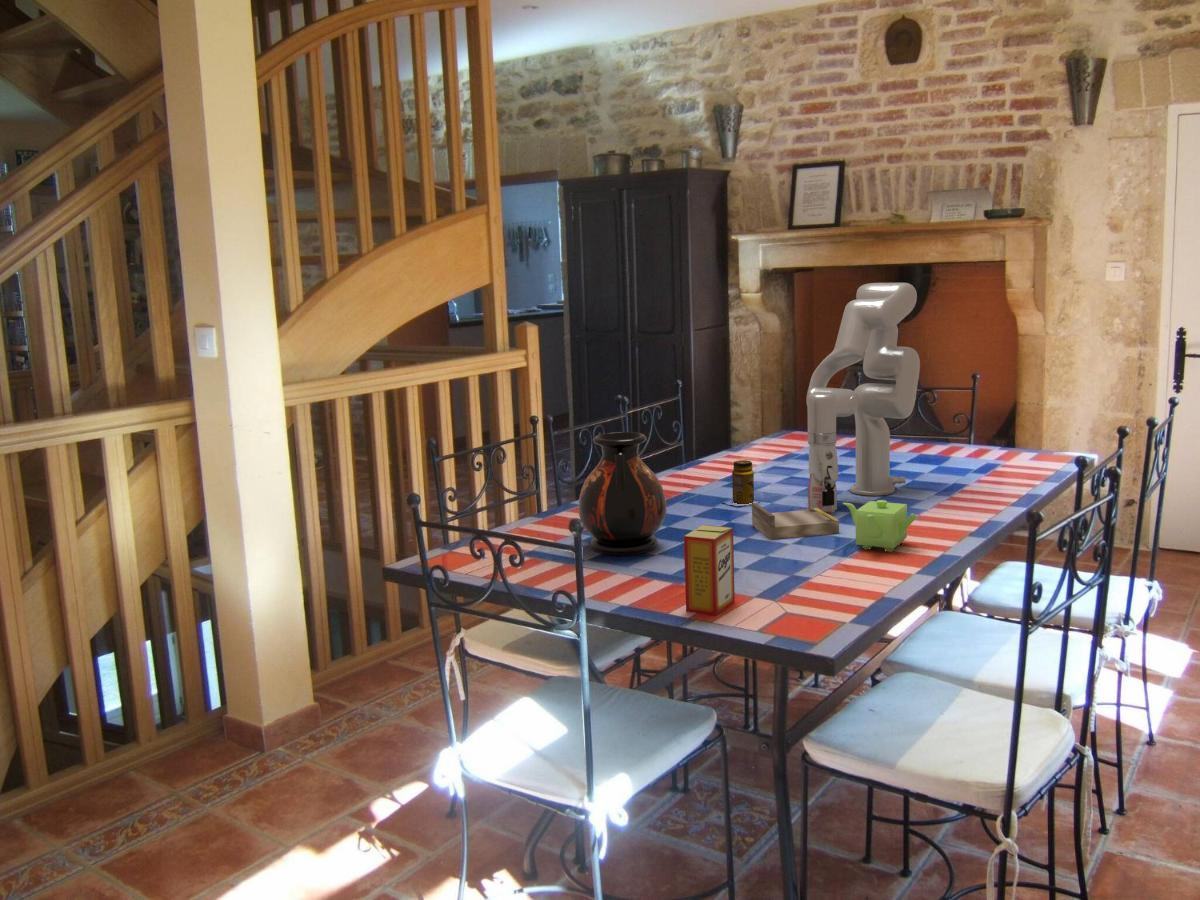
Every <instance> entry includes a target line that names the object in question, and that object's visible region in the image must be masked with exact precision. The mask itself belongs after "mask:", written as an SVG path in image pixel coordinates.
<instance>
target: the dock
mask: <svg viewBox="0 0 1200 900" xmlns="http://www.w3.org/2000/svg"><path fill="white" fill-rule="evenodd" d="M751 526H752V527H753V526H754V527H755V530H757V531H758V530H759V531H758V532H760V533H761V532H762V533H763V534H762V533H761V534H762V535H763V536H765V535H766V536H767V537H766V536H765V537H766V538H768V539H769V540H770V539H772V540H779V539H778V538H783V539H790V538H791V537H793V538H801V536H804V537H812V536H814V537H815V536H824V535H832V534H833V533H836V534H839V533H840V519H837V518H836V517H834V516H833V515H830V514H829V513H827V512H824V511H822V510H820V509H819V508H813V509H811V510H808V509H802V510H800V509H799V510H791V511H790V510H789V511H780V512H779V511H777V512H770V511H769V510H767V509H766V508H764V507H763V506H761V505H760V504H759V503H752V505H751ZM754 527H753V528H754Z"/></svg>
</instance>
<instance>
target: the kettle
mask: <svg viewBox="0 0 1200 900" xmlns="http://www.w3.org/2000/svg"><path fill="white" fill-rule="evenodd" d="M842 505H844V506H846V507H847V508H848V510H849V511H850V513H851V517H852V521H853V525H855V545H859V546H862V547H861V549H862V548H864V549H863V550H870V549H869V548H871V549H872V548H873V547H875V548H876V547H877V548H883V549H884V550H886V551H894V552H895V548H896V547H898V546H897V545H900V544H901V543H902V542H903V541H904V540H906V539H907V537H908V536H907V535H908V532H907V531H908V528H909V527H910V526H911V525H912V524H913V522H914V521H915V520H917V518H918V514H915V513H911V514H910V515H909V516H908V504H906V503H896V502H888V501H887V500H885V499H877V500H876V501H872V500H870V501H868V502H865V504H863V505H862V506H861V507H859V508H858V509H857V508H856V506H855V505H854V504H852V503H849V502H842ZM865 548H866V549H865ZM886 551H885V552H886Z"/></svg>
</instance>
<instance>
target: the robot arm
mask: <svg viewBox="0 0 1200 900" xmlns="http://www.w3.org/2000/svg"><path fill="white" fill-rule="evenodd" d="M855 297H856V299H853V300H851V301H849V302H847V304H846V305H845V308H844V311H843V314H842V317H841V318H842V319H841V322H840V325H839V329H838V334H837V338H836V341H835V345H834V348H833V350H832V352H830V353H829V354H828V355H827V356H826V357H825V358H824V359H823V360H822V361H821V362H820V363H819V365H817V367H816V368H815V370H814V371H813V373H812V375H811V377H810V381H809V386H808V388H807V393H806V398H805V399H806V407H807V444H808V445H809V448H808V451H809V452H808V474H809V475H810V474H813V477H814V478H815V479H817V480H819V481H821V482H822V485H823V490H824V491H822V505H823V506H832V505H834V491H835V483H836V484H837V481H838V480H839V466H838V465H839V463H838V452H837V446H836V445H837V418H839V417H840V418H841V417H843V418H845V417H850V416H852V415H854V421H855V484H852V485H850V487H849V488H850V489H849V490H850V492H851V493H852V494H856V495H859V496H868V497H869V496H870V497H871V496H872V497H875V496H877V497H879V496H887V495H891V494H894V493H895V492H896V487H895V485H896V484H897V485H898V484H899V485H901V484H906V477H905V476H899V477H897V476H893V475H890V467H891V465H890V464H891V463H890V462H891V461H890V460H891V459H890V458H891V456H890V452H891V450H890V447H891V439H890V438H891V433H890V428H889V426H888V423H887V421H886V420H885V418H887V419H888V418H889V419H897V420H898V419H899V420H900V419H902V420H903V419H907V418H908V417H910V416H911V415H912V413H913V411H914V407H915V404H916V397H917V390H918V383H919V377H920V370H921V369H920V368H921V362H920V360H921V359H920V356H919V353H918V351H916V350H915V349H914V348H912V347H909V346H897V345H898V335H899V328H898V324H899V323H901V321H902V320H904V319H905V317H907V316H908V315H910V313H911V312H912V311H913V310H914V308H915V307H916V304H917V300H918V299H917V298H918V295H917V290H916V288H915V287H914V286H913V284H910V283H909V282H870V283H864V284H862V285H861V286H859V287H858V288H857V290H856V295H855ZM862 360H863V362H862V364H863V365H862V369H863V373H864V375H865V376H866V377H868V378H870V379H876V380H884V381H885V380H888V381H889V380H890V381H895V384H892V383H891V384H887V383H880V382H879V383H877V382H876V383H873V382H870V383H869V382H868V383H867V382H866V383H862V384H860V385H858V386H857V387H856V388H855V389H854V390H852V389H848V388H836V387H827V386H828V384H829V381H830V380H831V379H832V377H833V376H834V375H835V374H837V373H838V372H840V371H841V370H843V369H845V368H847V367H850V366H851V365H854V364H857V363H858V362H861V361H862ZM826 478H829V480H825V479H826ZM826 483H828V484H827V486H826Z"/></svg>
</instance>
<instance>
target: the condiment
mask: <svg viewBox="0 0 1200 900" xmlns="http://www.w3.org/2000/svg"><path fill="white" fill-rule="evenodd" d="M732 465H733V467H732V468H733V470H732V473H731V477H732V478H731V479H732V484H731V485H732V486H731V487H732V488H731V489H732V500H733V502H734V503H737V504H749V503H753V502H754V501H755V489H754V488H755V486H754V485H755V481H754V480H755V479H754V475H755V473H754V470H753V463H752V461H751V460H746V459H745V460H743V459H742V460H734V461H733V464H732Z"/></svg>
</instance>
